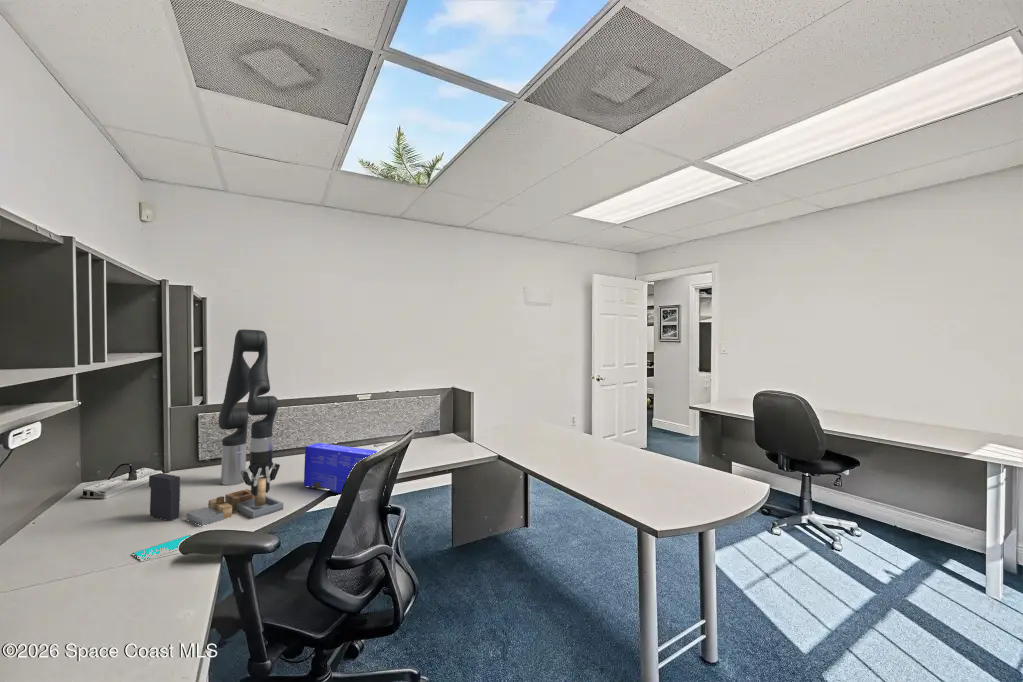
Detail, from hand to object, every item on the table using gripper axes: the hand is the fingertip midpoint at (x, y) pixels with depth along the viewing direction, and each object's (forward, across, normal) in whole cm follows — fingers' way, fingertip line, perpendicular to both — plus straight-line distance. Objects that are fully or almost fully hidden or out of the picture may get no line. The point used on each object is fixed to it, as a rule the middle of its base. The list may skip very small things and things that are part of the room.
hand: (260, 493), depth 163 cm
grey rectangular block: (+7, +16, -6) cm, 18 cm away
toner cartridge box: (+7, -32, +7) cm, 33 cm away
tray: (+6, 0, 0) cm, 6 cm away
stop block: (+6, +10, -8) cm, 14 cm away
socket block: (+6, +2, -12) cm, 13 cm away
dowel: (+4, 0, 0) cm, 4 cm away
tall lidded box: (+6, +24, -20) cm, 31 cm away
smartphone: (+7, +32, +8) cm, 33 cm away
